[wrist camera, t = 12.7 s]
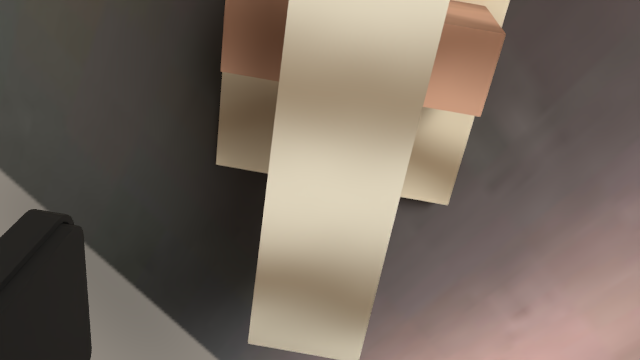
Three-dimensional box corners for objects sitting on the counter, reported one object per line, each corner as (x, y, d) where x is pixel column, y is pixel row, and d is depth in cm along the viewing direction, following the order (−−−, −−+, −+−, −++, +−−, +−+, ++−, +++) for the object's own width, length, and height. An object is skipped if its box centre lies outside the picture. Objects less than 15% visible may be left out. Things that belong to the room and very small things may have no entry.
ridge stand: (445, 191, 33) (458, 259, 28) (222, 152, 34) (190, 212, 28) (552, -170, 25) (603, -180, 19) (250, -222, 25) (211, -246, 19)
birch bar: (362, 271, 29) (358, 362, 23) (272, 255, 29) (247, 343, 23) (492, -291, 18) (538, -354, 13) (348, -316, 18) (335, -389, 13)
